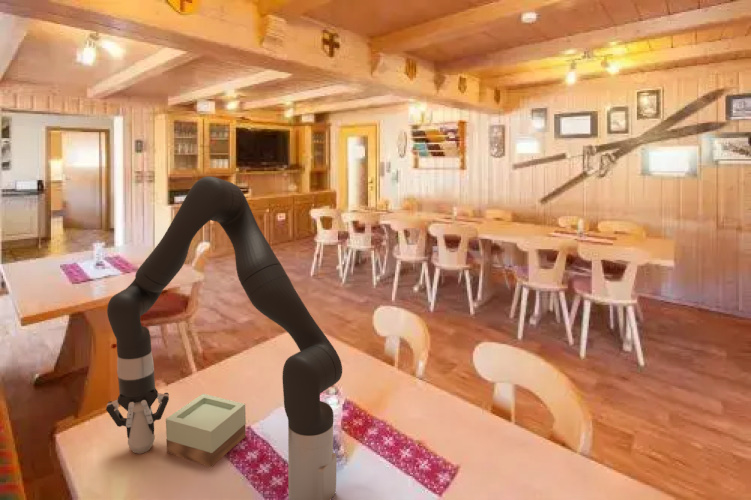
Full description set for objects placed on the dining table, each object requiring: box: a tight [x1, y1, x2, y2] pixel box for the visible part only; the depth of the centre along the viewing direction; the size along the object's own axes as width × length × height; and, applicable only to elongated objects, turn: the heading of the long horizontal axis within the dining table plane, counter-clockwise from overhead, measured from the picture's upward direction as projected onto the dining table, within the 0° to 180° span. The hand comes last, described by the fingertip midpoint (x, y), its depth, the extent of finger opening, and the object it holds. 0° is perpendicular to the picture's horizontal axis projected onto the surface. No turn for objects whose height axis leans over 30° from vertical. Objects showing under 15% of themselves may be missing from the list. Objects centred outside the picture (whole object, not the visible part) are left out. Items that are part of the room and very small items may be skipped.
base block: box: [165, 424, 247, 468], centre depth 115 cm, size 13×13×4 cm
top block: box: [165, 393, 247, 453], centre depth 114 cm, size 13×13×6 cm
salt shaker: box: [127, 402, 156, 455], centre depth 111 cm, size 6×6×13 cm
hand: (141, 436), depth 112 cm, fingers open, 3 cm apart
